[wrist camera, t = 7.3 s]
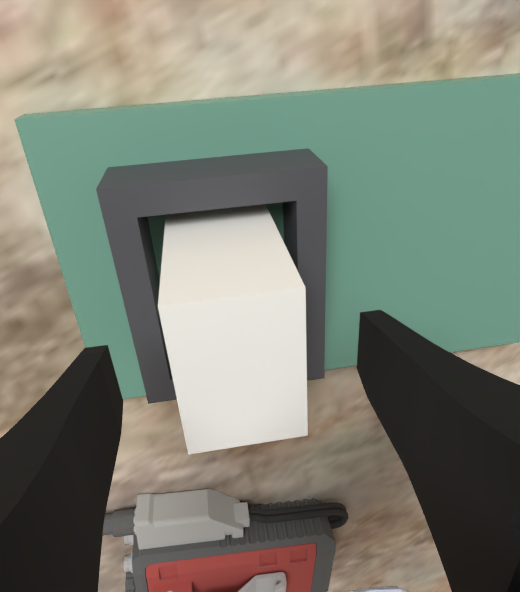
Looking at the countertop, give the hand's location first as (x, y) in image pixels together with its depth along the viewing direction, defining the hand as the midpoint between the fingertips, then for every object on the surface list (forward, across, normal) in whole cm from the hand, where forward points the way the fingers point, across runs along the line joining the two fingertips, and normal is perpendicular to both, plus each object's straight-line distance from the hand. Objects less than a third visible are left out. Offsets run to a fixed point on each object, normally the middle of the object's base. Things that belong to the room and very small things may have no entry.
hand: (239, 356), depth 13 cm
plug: (+6, 0, 0) cm, 6 cm away
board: (+7, -4, 0) cm, 8 cm away
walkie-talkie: (+8, +4, +18) cm, 20 cm away
